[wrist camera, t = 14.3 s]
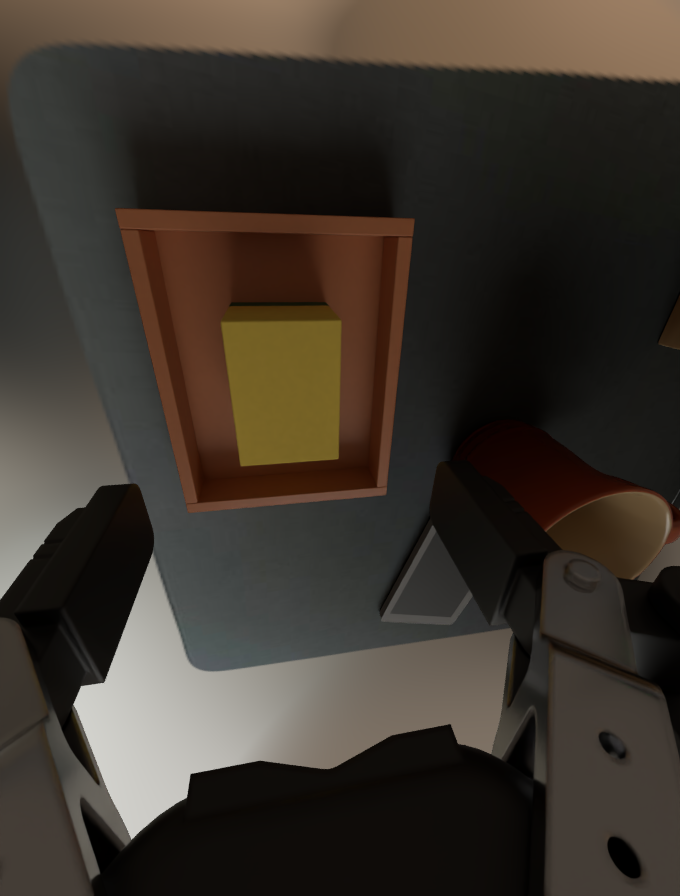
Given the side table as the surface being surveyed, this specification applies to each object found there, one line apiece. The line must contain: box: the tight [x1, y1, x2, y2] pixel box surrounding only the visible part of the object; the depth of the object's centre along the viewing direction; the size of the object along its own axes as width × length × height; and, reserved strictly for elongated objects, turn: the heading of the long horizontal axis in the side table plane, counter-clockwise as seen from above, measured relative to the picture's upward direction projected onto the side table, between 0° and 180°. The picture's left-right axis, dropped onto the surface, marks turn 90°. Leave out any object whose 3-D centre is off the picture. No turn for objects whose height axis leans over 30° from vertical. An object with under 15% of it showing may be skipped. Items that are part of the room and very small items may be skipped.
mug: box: [452, 419, 680, 580], centre depth 24 cm, size 12×9×10 cm
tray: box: [115, 208, 415, 513], centre depth 20 cm, size 15×12×3 cm
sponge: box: [220, 302, 342, 466], centre depth 19 cm, size 7×5×5 cm
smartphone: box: [380, 518, 473, 625], centre depth 33 cm, size 15×8×1 cm, turn 162°
